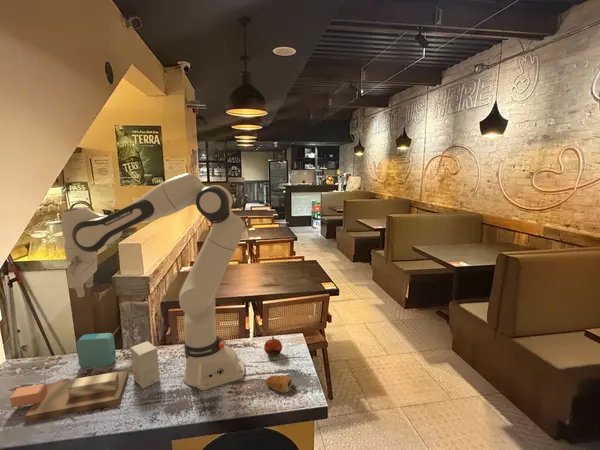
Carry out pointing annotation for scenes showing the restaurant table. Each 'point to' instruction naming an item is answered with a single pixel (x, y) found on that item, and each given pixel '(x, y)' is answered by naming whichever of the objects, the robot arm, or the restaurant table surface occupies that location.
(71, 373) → the restaurant table surface
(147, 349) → the small box
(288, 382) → the pastry
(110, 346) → the data package
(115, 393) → the board
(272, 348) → the pomegranate
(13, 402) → the orange rectangular block
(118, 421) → the restaurant table surface
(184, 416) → the restaurant table surface
